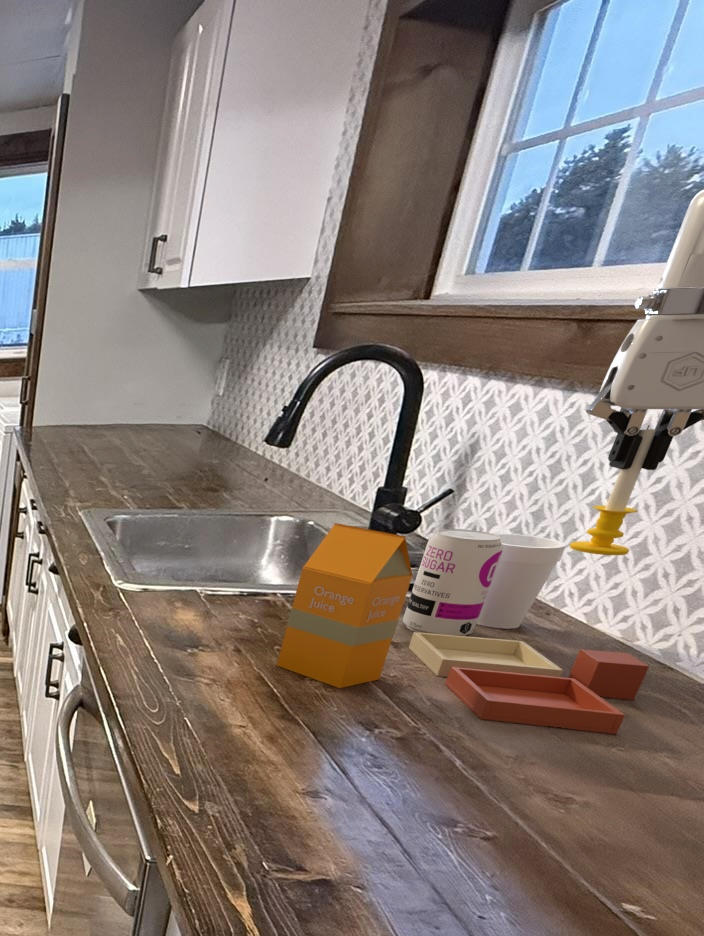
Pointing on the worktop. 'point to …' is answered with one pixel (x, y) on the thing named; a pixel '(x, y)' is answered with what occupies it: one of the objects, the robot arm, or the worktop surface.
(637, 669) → the terracotta block
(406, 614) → the supplement can
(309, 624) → the orange juice
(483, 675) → the terracotta tray
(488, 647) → the cream tray
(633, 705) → the worktop surface
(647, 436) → the candle
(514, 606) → the foam cup
